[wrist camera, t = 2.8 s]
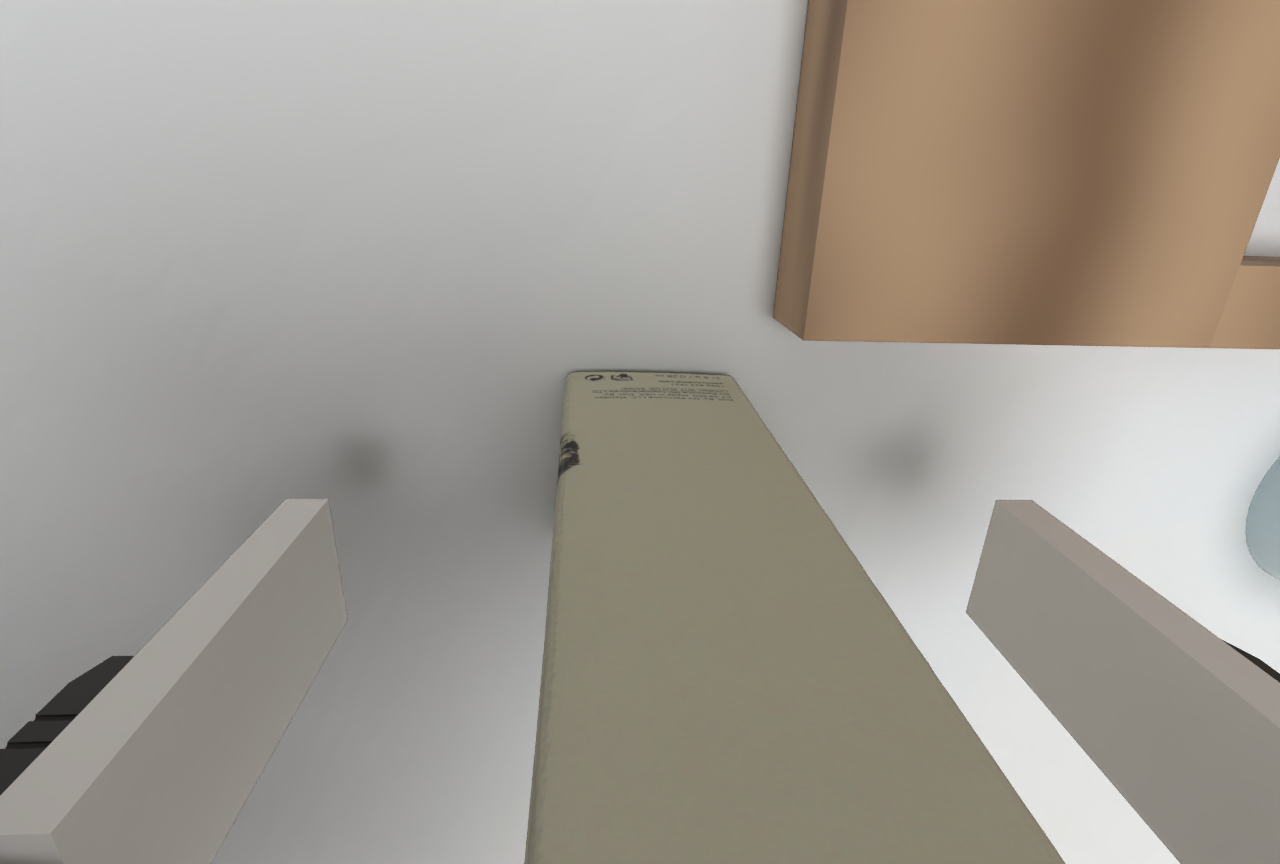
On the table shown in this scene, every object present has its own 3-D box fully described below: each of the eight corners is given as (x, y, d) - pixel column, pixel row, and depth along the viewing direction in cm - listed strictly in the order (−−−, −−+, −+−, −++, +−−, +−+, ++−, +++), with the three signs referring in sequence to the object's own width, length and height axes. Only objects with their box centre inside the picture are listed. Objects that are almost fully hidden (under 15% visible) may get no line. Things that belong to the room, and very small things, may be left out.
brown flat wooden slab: (773, 317, 16) (804, 341, 14) (832, -208, 12) (888, -299, 10) (1494, 333, 17) (1634, 357, 15) (1738, -127, 14) (1970, -188, 11)
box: (563, 365, 16) (486, 927, 4) (738, 372, 16) (1147, 904, 4) (560, 549, 18) (502, 1303, 6) (716, 551, 18) (959, 1263, 6)
